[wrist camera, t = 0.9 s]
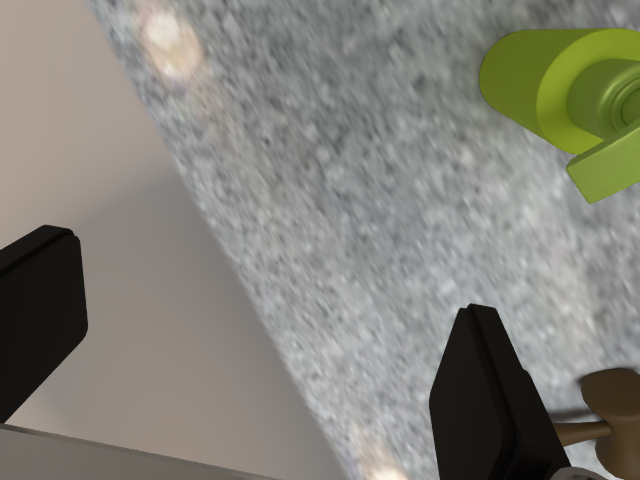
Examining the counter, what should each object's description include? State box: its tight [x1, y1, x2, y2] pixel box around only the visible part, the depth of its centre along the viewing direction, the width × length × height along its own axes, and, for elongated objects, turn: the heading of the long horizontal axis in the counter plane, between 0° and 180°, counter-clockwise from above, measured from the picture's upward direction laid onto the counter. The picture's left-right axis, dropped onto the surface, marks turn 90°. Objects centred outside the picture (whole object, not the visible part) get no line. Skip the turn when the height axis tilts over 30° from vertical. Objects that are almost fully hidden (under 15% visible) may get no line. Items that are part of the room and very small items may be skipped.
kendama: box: [552, 369, 640, 480], centre depth 44 cm, size 6×10×20 cm
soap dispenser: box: [479, 28, 640, 204], centre depth 24 cm, size 6×7×20 cm
